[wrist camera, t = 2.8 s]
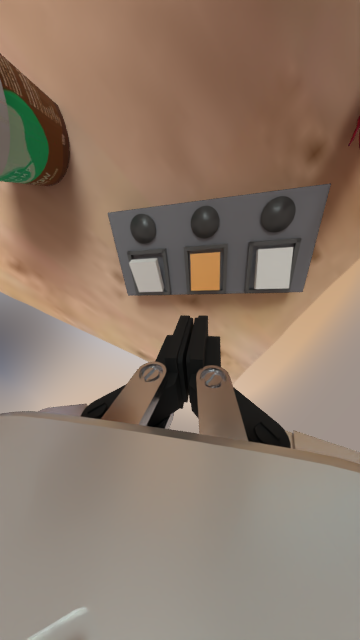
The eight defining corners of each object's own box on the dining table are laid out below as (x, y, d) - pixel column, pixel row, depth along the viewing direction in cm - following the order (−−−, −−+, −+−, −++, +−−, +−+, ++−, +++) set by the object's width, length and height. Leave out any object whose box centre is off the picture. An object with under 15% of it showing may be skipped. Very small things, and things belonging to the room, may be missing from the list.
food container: (34, 214, 24) (-65, 209, 16) (0, 162, 22) (-139, 123, 13) (100, 166, 20) (14, 125, 12) (67, 95, 18) (-73, -23, 9)
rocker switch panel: (120, 214, 22) (104, 212, 19) (314, 189, 18) (335, 182, 15) (136, 288, 27) (126, 297, 24) (292, 284, 22) (304, 293, 19)
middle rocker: (191, 255, 20) (190, 254, 19) (219, 253, 19) (220, 252, 18) (192, 290, 21) (191, 290, 20) (219, 289, 20) (219, 290, 19)
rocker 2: (256, 250, 18) (258, 249, 18) (289, 248, 18) (293, 247, 17) (254, 288, 19) (255, 289, 18) (285, 287, 19) (288, 288, 18)
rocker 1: (131, 259, 20) (128, 263, 20) (157, 258, 20) (155, 261, 19) (141, 288, 23) (139, 292, 22) (164, 287, 22) (162, 291, 22)
